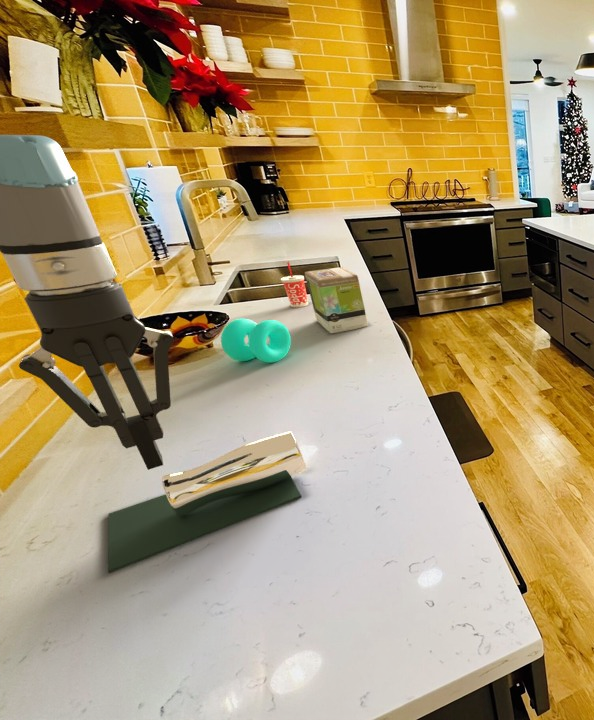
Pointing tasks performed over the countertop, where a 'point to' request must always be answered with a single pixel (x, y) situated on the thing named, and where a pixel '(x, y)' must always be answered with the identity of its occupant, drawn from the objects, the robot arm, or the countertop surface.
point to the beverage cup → (295, 289)
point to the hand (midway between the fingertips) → (155, 462)
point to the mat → (183, 522)
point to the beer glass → (235, 473)
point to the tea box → (336, 299)
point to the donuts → (256, 340)
